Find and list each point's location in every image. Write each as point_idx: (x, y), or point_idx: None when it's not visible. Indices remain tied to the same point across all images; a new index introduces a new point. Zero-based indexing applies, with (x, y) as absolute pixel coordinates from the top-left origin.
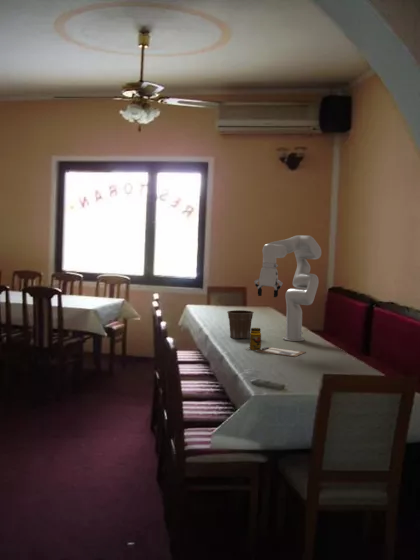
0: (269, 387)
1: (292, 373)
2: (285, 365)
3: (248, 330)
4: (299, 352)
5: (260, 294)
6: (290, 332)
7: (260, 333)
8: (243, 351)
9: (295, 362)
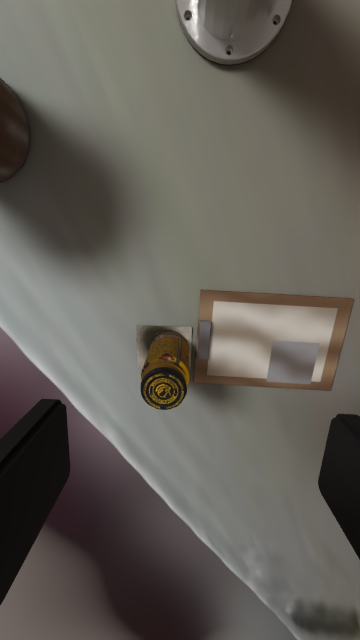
0: (333, 630)
1: None
2: None
3: (5, 123)
4: (333, 326)
5: (57, 454)
6: (235, 9)
7: (187, 376)
8: None
9: None
